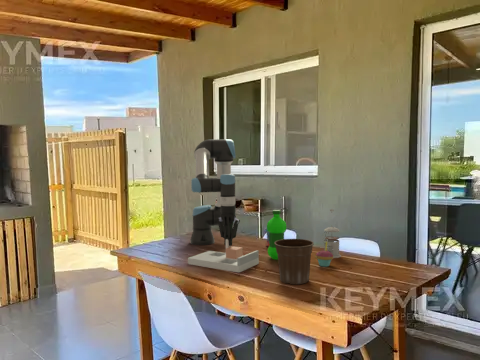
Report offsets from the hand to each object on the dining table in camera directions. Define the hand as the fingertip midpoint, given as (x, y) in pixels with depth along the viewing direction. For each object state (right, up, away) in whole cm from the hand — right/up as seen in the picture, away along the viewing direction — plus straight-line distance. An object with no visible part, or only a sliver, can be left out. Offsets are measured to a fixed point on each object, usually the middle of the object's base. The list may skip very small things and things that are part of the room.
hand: (228, 251), depth 190 cm
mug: (+26, -4, +35) cm, 44 cm away
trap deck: (-2, -5, -3) cm, 7 cm away
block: (+3, -2, -2) cm, 4 cm away
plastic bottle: (+25, -5, +7) cm, 26 cm away
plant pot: (+29, -6, -31) cm, 43 cm away
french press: (+54, -4, +12) cm, 56 cm away
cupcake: (+47, -5, -8) cm, 47 cm away
